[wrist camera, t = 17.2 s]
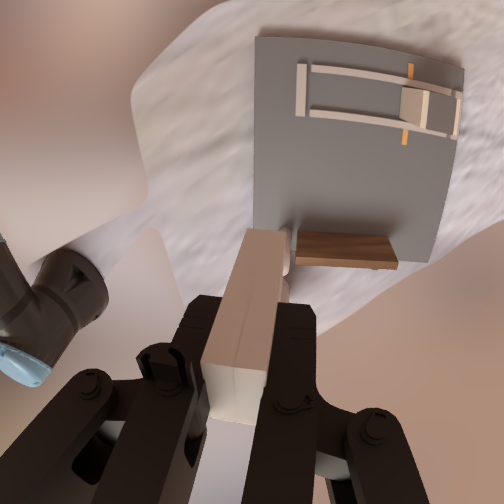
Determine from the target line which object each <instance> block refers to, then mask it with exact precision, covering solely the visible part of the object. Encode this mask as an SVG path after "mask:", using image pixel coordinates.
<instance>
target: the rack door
mask: <svg viewBox="0 0 504 504" xmlns="http://www.w3.org/2000/svg"><path fill="white" fill-rule="evenodd" d="M398 263H399V262H398V259H397V257H396V255H395V252H394V250H393V248H392V246H391V243H390V241H389V239H388V237H387V236H376V235H360V234H343V233H326V232H307V231H297V244H296V261H295V265H312V266H331V267H351V268H370V269H373V270H378V269H392V270H397V267H398Z"/></svg>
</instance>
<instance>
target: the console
mask: <svg viewBox="0 0 504 504" xmlns="http://www.w3.org/2000/svg"><path fill="white" fill-rule="evenodd" d="M463 84H464V68H461V67H458V66H455V65H451V64H448V63H445V62H441V61H438V60H434V59H430V58H427V57H423V56H419V55H415V54H410V53H406V52H401V51H397V50H392V49H387V48H382V47H376V46H370V45H364V44H357V43H350V42H342V41H333V40H323V39H312V38H296V37H255V87H254V194H253V229H258V230H271V231H283V232H286V240H285V254H284V268H283V276H285V275H287V274H288V272H289V265H290V254H291V251H296V244H297V231H307V232H326V233H343V234H360V235H376V236H387V237H388V239H389V241H390V243H391V246H392V248H393V250H394V252H395V255H396V257H397V259H398V260H400V261H412V262H423V263H428V261H429V258H430V255H431V252H432V248H433V245H434V242H435V238H436V235H437V231H438V227H439V224H440V220H441V216H442V212H443V208H444V204H445V200H446V196H447V191H448V187H449V182H450V177H451V172H452V167H453V162H454V156H455V151H456V144H457V140H458V133H459V126H460V118H461V109H462V100H463ZM402 87H405V88H413V89H420V90H426V91H430V92H435V93H438V94H442V95H446V96H450V97H453V98H457V99H460V100H461V101H460V110H459V119H458V127H457V134H456V136H455V135H449V134H445V133H441V132H436V131H432V130H427V129H424V128H420V127H418V126H416V125H414V124H411V123H409V122H407V121H405V120H403V119H400V118H399V115H400V104H401V92H402Z"/></svg>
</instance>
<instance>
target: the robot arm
mask: <svg viewBox="0 0 504 504" xmlns="http://www.w3.org/2000/svg"><path fill="white" fill-rule="evenodd" d="M285 240H286V232H283V231H271V230H258V229H247V231H246V234H245V236H244V239H243V242H242V245H241V248H240V250H239V253H238V256H237V259H236V262H235V264H234V267H233V270H232V273H231V276H230V278H229V281H228V284H227V287H226V290H225V292H224V295H223V297H215V296H207V295H199V296H197V297H196V298H195V299H194V300H193V301H192V302H191V303H189V305H188V307H187V309H186V311H185V313H184V315H183V316H184V317H183V318H182V320H181V322H180V324H179V328H177V331H176V333H175V335H174V337H173V340H172V342H171V343H157V344H153V345H150V346H148V347H147V348H145V349H144V350H142V351H141V352H140V353H139V355H138V356H137V357H136V360H137V363H138V365H139V368H140V370H141V373H142V375H143V378H140V379H134V380H112V379H111V378H110V376H109V375H108V374H107V373H105V371H102V370H99V369H86V370H83V371H80V372H79V373H77V374H76V375H75V376H73V377H72V378H71V379H70V380H69V382H68V383H67V384H66V385H65V386H64V387H63V388H62V389H61V390H60V391H59V392H58V393H57V394H56V395H55V397H54V398H53V399H52V400H51V401H50V402H49V403H48V404H47V405H46V406H45V407H44V408H43V410H42V411H41V412H40V413H39V414H38V415H37V416H36V417H35V418H34V420H33V421H32V422H31V423H30V424H29V425H28V426H27V427H26V429H25V430H24V431H23V432H22V433H21V434H20V435H19V436H18V438H17V439H16V440H15V441H14V442H13V443H12V444H11V446H10V447H9V448H8V449H7V450H6V451H5V452H4V454H3V455H2V456H1V457H0V504H188V502H189V499H190V495H191V492H192V488H193V484H194V480H195V477H196V473H197V470H198V466H199V462H200V458H201V455H202V451H203V447H204V444H205V440H206V436H207V428H206V422H207V418H208V415H209V411H210V416H211V419H217V420H222V421H229V422H235V423H242V424H250V425H256V428H255V433H254V439H253V445H252V450H251V455H250V461H249V466H248V471H247V476H246V481H245V486H244V491H243V497H242V502H241V504H312V500H313V487H314V476H315V474H316V475H319V476H322V477H325V480H326V485H327V489H328V494H329V498H330V503H331V504H430V503H429V500H428V498H427V494H426V491H425V489H424V486H423V483H422V480H421V477H420V475H419V471H418V469H417V466H416V463H415V461H414V458H413V455H412V452H411V450H410V447H409V445H408V442H407V439H406V437H405V434H404V432H403V429H402V427H401V424H400V423H399V421H398V420H397V418H396V417H395V416H394V415H393V414H391V413H390V412H389V411H387V410H383V409H380V408H366V409H364V410H361V411H359V412H357V413H356V414H355V413H351V412H348V411H345V410H342V409H339V408H337V407H334V406H332V405H330V404H329V403H328V402H326V401H325V400H324V399H323V398H322V397H321V395H320V394H319V392H318V390H317V387H316V315H315V313H314V312H313V310H312V308H311V306H310V305H307V304H295V303H284V302H280V300H281V292H282V281H283V268H284V254H285ZM108 301H109V296H108V290H107V287H106V285H105V282H104V280H103V279H102V277H101V275H100V274H99V272H98V271H97V270H96V269H95V267H94V266H93V265H92V264H91V263H90V262H89V261H87V260H86V259H85V258H84V257H82V256H81V255H79V254H77V253H75V252H73V251H70V250H66V249H59V250H56V251H54V252H52V253H51V254H50V255H49V256H48V257H47V258H46V259H45V260H44V262H43V264H42V266H41V269H40V271H39V273H38V275H37V277H36V279H35V281H34V283H33V285H32V286H31V287H30V286H29V284H28V282H27V281H26V279H25V277H24V276H23V274H22V272H21V270H20V269H19V267H18V265H17V263H16V261H15V259H14V258H13V256H12V254H11V252H10V250H9V248H8V246H7V244H6V241H5V239H3V237H2V236H1V234H0V370H1V371H2V372H4V373H5V374H6V375H8V376H9V377H11V378H12V379H14V380H15V381H17V382H19V383H21V384H23V385H26V386H29V387H37V386H39V385H40V384H41V383H42V382H43V381H44V380H45V379H46V377H47V376H48V375H49V373H51V372H52V369H53V367H54V366H55V364H56V363H57V361H58V360H59V358H60V357H61V355H62V354H63V352H64V351H65V349H66V348H67V346H68V345H69V343H70V342H71V340H72V339H73V337H74V336H75V334H76V333H77V332H78V331H79V330H80V329H81V328H83V327H85V326H86V325H88V324H89V323H91V322H92V321H94V320H96V319H97V318H99V317H100V316H101V314H102V313H103V312H104V310H105V309H106V307H107V305H108Z"/></svg>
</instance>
